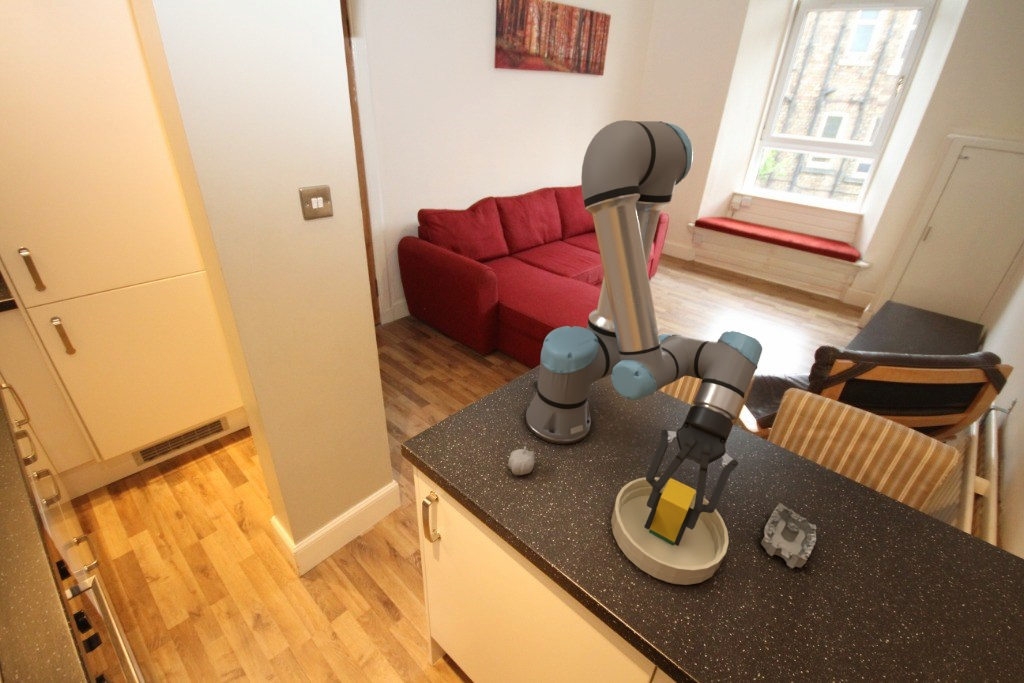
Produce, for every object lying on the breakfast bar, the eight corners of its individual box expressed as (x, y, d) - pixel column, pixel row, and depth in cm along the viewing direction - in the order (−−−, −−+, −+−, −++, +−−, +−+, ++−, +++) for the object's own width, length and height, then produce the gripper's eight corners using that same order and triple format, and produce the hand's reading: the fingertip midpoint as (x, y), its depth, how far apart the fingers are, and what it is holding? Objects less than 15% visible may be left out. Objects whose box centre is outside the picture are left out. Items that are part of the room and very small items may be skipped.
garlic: (521, 455, 95) (523, 437, 93) (540, 469, 92) (542, 450, 90) (501, 469, 91) (502, 450, 89) (520, 484, 88) (522, 465, 86)
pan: (590, 511, 84) (594, 494, 82) (666, 481, 92) (671, 466, 90) (661, 605, 69) (668, 588, 67) (744, 560, 77) (753, 544, 75)
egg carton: (799, 575, 76) (809, 560, 74) (754, 546, 80) (762, 531, 78) (815, 537, 83) (824, 523, 81) (772, 513, 87) (780, 498, 85)
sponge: (658, 512, 84) (670, 477, 78) (681, 525, 82) (696, 490, 76) (648, 532, 80) (660, 496, 75) (673, 546, 78) (687, 510, 73)
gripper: (762, 437, 79) (712, 563, 75) (665, 398, 87) (616, 510, 83) (768, 430, 73) (715, 567, 69) (663, 389, 81) (610, 509, 77)
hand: (661, 536), depth 76 cm, fingers closed on sponge, 4 cm apart
